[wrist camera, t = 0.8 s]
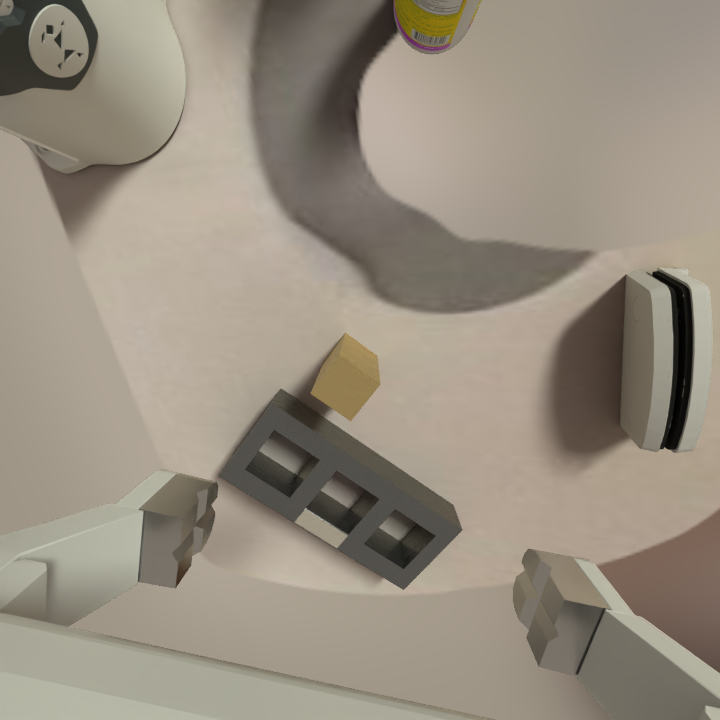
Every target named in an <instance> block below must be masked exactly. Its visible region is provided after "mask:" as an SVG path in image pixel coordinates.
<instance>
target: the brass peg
mask: <svg viewBox="0 0 720 720" xmlns="http://www.w3.org/2000/svg"><path fill="white" fill-rule="evenodd" d="M379 385H380V376H379V368H378V360H377V355H375V354H374V353H373V352H371V351H370V350H369V349H367V348H366V347H364V346H363V345H362V344H360V343H359V342H357V341H356V340H355V339H353V338H352V337H351V336H349V335H348V334H346V333H345V335H344V336H343V337H342V339H341V340H340V341H339V343H338V344H337V345H336V347H335V348H334V349H333V351H332V352H331V353H330V355H329V356H328V357H327V359H326V360H325V362H324V363H323V365H322V367H321V370H320V372H319V375H318V377H317V379H316V382H315V384H314V386H313V389H312V391H311V393H310V394H312V395H313V396H315V397H316V398H318V399H319V400H320V401H322V402H323V403H325V404H326V405H328V406H329V407H331V408H332V409H334V410H335V411H337V412H338V413H339V414H341V415H342V416H344V417H345V418H347V419H348V420H350V421H351V420H352V419H353V418H354V416H355V415H356V414H357V413H358V411H359V410H360V409H361V408H362V406H363V405H364V404H365V403H366V402H367V400H368V399H369V398H370V397H371V395H372V394H373V393H374V392H375V390H376V389H377V388H378V387H379Z"/></svg>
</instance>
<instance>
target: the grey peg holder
mask: <svg viewBox="0 0 720 720" xmlns="http://www.w3.org/2000/svg"><path fill="white" fill-rule="evenodd" d="M274 430H275V431H276V432H278V433H280V434H281V435H283V436H284V437H286V438H287V439H289V440H290V441H292V442H293V443H295V444H296V445H298V446H299V447H301V448H302V449H304V450H306V451H307V452H309V453H310V454H312V455H313V456H312V457H311V459H310V460H309V461H308V463H307V464H306V465H305V466H304V468H303V469H302V470H301V471H300V473H299V474H298V475H295V474H294V473H292V472H291V471H289V470H288V469H286V468H284V467H283V466H281V465H280V464H278V463H277V462H275V461H273V460H272V459H270V458H269V457H267V456H266V455H264V454H262V453H261V452H259V450H260V448H261V447H262V446H263V444H264V443H265V442H266V440H267V439H268V438H269V436H270V435H271V433H272V432H273V431H274ZM336 471H338V472H339V473H341V474H342V475H344V476H345V477H347V478H348V479H350V480H351V481H353V482H354V483H356V484H357V485H359V486H360V487H362V488H364V489H365V490H367V491H366V492H365V493H364V494H363V495H362V496H361V497H360V499H359V500H358V501H357V502H356V503H355V504H354V506H353V507H352V508H351V509H348V508H347V507H345V506H344V505H342V504H341V503H339V502H338V501H336V500H334V499H333V498H331V497H330V496H328V495H327V494H325V493H323V492H322V491H320V490H321V489H322V488H323V486H324V485H325V484H326V483H327V482H328V480H329V479H330V478H331V477H332V475H333V474H334V473H335V472H336ZM219 477H221V478H223V479H224V480H226V481H228V482H229V483H231V484H232V485H234V486H236V487H237V488H239V489H241V490H242V491H244V492H245V493H247V494H249V495H250V496H252V497H254V498H255V499H257V500H258V501H260V502H262V503H263V504H265V505H267V506H268V507H270V508H271V509H273V510H275V511H276V512H278V513H280V514H281V515H283V516H284V517H286V518H288V519H289V520H291V521H292V522H294V523H296V524H297V525H299V526H301V527H302V528H304V529H305V530H307V531H309V532H310V533H312V534H314V535H315V536H317V537H318V538H320V539H322V540H323V541H325V542H327V543H328V544H330V545H331V546H333V547H335V548H336V549H338V550H340V551H341V552H343V553H344V554H346V555H348V556H349V557H351V558H353V559H354V560H356V561H357V562H359V563H361V564H362V565H364V566H366V567H367V568H369V569H370V570H372V571H374V572H375V573H377V574H379V575H380V576H382V577H383V578H385V579H387V580H388V581H390V582H391V583H393V584H395V585H396V586H398V587H400V588H401V589H403V590H404V589H405V588H406V587H407V586H408V585H409V584H410V583H411V582H412V581H413V580H414V579H415V578H416V577H417V576H418V575H419V574H420V573H421V572H422V571H423V570H424V569H425V568H426V567H427V566H428V565H429V564H430V563H431V562H432V561H433V560H434V559H435V558H436V557H437V555H438V554H439V553H440V552H441V551H442V550H443V549H444V548H445V547H446V546H447V545H448V544H449V543H450V542H451V541H452V540H453V539H454V538H455V537H456V536H457V535H458V534H459V533H460V532H461V531H462V527H461V525H460V522H459V519H458V516H457V514H456V511H455V508H454V505H452V504H451V503H449V502H448V501H446V500H445V499H443V498H442V497H441V496H439V495H438V494H436V493H435V492H433V491H432V490H430V489H429V488H427V487H426V486H424V485H423V484H421V483H420V482H418V481H417V480H415V479H414V478H412V477H411V476H409V475H408V474H407V473H405V472H404V471H402V470H401V469H399V468H398V467H396V466H395V465H393V464H392V463H390V462H389V461H387V460H386V459H384V458H383V457H381V456H380V455H378V454H377V453H376V452H374V451H373V450H371V449H370V448H368V447H367V446H365V445H364V444H362V443H361V442H359V441H358V440H356V439H355V438H353V437H352V436H350V435H349V434H347V433H346V432H344V431H343V430H342V429H340V428H339V427H337V426H336V425H334V424H333V423H331V422H330V421H328V420H327V419H325V418H324V417H322V416H321V415H319V414H318V413H316V412H315V411H313V410H312V409H310V408H309V407H308V406H306V405H305V404H303V403H302V402H300V401H299V400H297V399H296V398H294V397H293V396H291V395H290V394H288V393H287V392H285V391H284V390H282V389H280V391H279V392H278V394H277V395H276V396H275V398H274V399H273V401H272V402H271V403H270V405H269V406H268V407H267V409H266V410H265V412H264V413H263V414H262V416H261V417H260V419H259V420H258V421H257V423H256V424H255V425H254V427H253V428H252V430H251V431H250V432H249V434H248V435H247V437H246V438H245V439H244V441H243V442H242V444H241V445H240V446H239V448H238V449H237V450H236V452H235V453H234V455H233V456H232V457H231V459H230V460H229V462H228V463H227V465H226V466H225V468H224V469H223V470H222V472H221V473H220V475H219ZM395 509H396V510H397V511H399V512H400V513H402V514H403V515H405V516H406V517H408V518H409V519H411V520H412V521H414V522H415V523H417V525H416V526H415V527H414V528H413V529H412V530H411V531H410V532H409V533H408V534H407V535H406V536H405V537H404V538H403V539H402V541H401V542H400V541H398V540H397V539H395V538H394V537H392V536H391V535H389V534H388V533H386V532H384V531H383V530H381V529H380V528H378V527H379V526H380V525H381V524H382V523H383V522H384V521H385V520H386V519H387V517H388V516H389V515H390V514H391V513H392V512H393V511H394V510H395Z"/></svg>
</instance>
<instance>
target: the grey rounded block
mask: <svg viewBox="0 0 720 720" xmlns="http://www.w3.org/2000/svg"><path fill="white" fill-rule="evenodd" d="M711 366H712V310H711V298H710V291H709V288H708V286H707V285H706V284H704V283H702V282H700V281H698V280H696V279H694V278H692V277H690V276H688V269H686V268H657V271H656V272H653V276H652V275H650V274H648V273H645V272H643V271H642V270H638V271H634V272H631V273H628V274H626V289H625V314H624V339H623V364H622V388H621V413H620V427H621V428H622V429H623V430H624V431H625V432H626V434H627V435H628V436H629V437H630V438H631V439H632V440H633V441H634V442H635V444H636V445H637V446H638V447H639V448H640V449H644V450H649V451H654V452H658V451H659V449H663V448H664V447H665V448H666V449H669V450H671V451H672V452H674V453H678V452H687V451H692V450H694V448H695V445H696V443H697V440H698V437H699V434H700V431H701V428H702V424H703V420H704V416H705V411H706V406H707V401H708V395H709V388H710V378H711Z"/></svg>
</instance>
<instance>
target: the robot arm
mask: <svg viewBox="0 0 720 720" xmlns="http://www.w3.org/2000/svg"><path fill="white" fill-rule="evenodd" d="M185 92H186V73H185V65H184V59H183V54H182V50H181V47H180V44H179V41H178V38H177V36H176V33H175V31H174V28H173V26H172V24H171V21H170V18H169V16H168V12H167V9H166V0H0V129H1V130H3V131H6V132H8V133H10V134H13V135H15V136H17V137H20V138H21V139H22V140H23V141H24V142H25V143H26V144H27V145H28V146H29V147H30V148H31V149H32V150H33V151H34V152H35V153H36V154H37V155H38V156H39V157H40V158H41V159H42V160H43V161H44V162H45V163H46V164H47V165H48V166H50V167H51V168H53V169H55V170H57V171H59V172H62V173H66V174H68V173H74V172H76V171H79V170H81V169H84V168H86V167H88V166H90V165H93V164H108V165H122V164H129V163H133V162H137V161H140V160H142V159H144V158H146V157H148V156H150V155H151V154H153V153H154V152H156V151H157V150H158V149H159V148H160V147H162V145H163V144H164V143H165V142H166V141H167V140H168V139H169V137H170V136H171V134H172V133H173V131H174V129H175V128H176V126H177V123H178V121H179V119H180V116H181V113H182V110H183V105H184V100H185ZM217 494H218V484H217V482H215V481H211V480H206V479H202V478H198V477H194V476H189V475H185V474H181V473H180V474H179V473H177V472H172V471H167V470H162V469H161V470H157V471H155V472H154V473H153V474H151V475H150V476H149V477H148V478H146V479H145V480H144V481H143V482H142V483H141V484H139V485H138V486H137V487H135V488H134V489H133V490H132V491H130V492H129V493H128V494H127V495H126V496H124V497H123V498H122V499H121V500H120V501H118V502H117V503H116V504H115V505H114V504H109V503H108V504H104V505H101V506H98V507H95V508H92V509H88V510H85V511H81V512H78V513H75V514H72V515H69V516H65V517H62V518H59V519H56V520H52V521H49V522H46V523H43V524H39V525H36V526H33V527H29V528H26V529H23V530H19V531H16V532H13V533H10V534H7V535H4V536H0V720H494V719H490V718H485V717H480V716H476V715H471V714H467V713H462V712H458V711H453V710H449V709H444V708H439V707H435V706H430V705H426V704H421V703H416V702H412V701H407V700H403V699H398V698H393V697H388V696H384V695H379V694H374V693H370V692H366V691H360V690H356V689H352V688H347V687H343V686H338V685H333V684H328V683H324V682H319V681H314V680H310V679H306V678H301V677H296V676H291V675H287V674H282V673H278V672H273V671H268V670H264V669H259V668H255V667H250V666H245V665H241V664H236V663H232V662H226V661H222V660H218V659H213V658H208V657H204V656H199V655H195V654H190V653H186V652H181V651H176V650H172V649H167V648H163V647H158V646H153V645H149V644H144V643H140V642H134V641H130V640H126V639H121V638H116V637H112V636H107V635H103V634H98V633H93V632H89V631H84V630H80V629H75V628H70V627H69V626H70V625H72V624H73V623H75V622H76V621H78V620H80V619H81V618H83V617H85V616H86V615H88V614H90V613H91V612H93V611H94V610H96V609H98V608H99V607H101V606H103V605H104V604H106V603H107V602H109V601H111V600H112V599H114V598H115V597H117V596H119V595H120V594H122V593H123V592H125V591H127V590H128V589H130V588H131V587H133V586H135V585H136V584H137V583H138V582H143V583H149V584H154V585H159V586H165V587H170V588H176V587H177V585H178V584H179V582H180V581H181V579H182V578H183V576H184V575H185V573H186V572H187V571H188V569H189V567H190V566H191V561H192V556H193V555H195V554H196V553H198V552H200V551H201V550H202V548H203V547H204V545H205V544H206V542H207V540H208V537H209V535H210V533H211V530H212V527H213V523H214V518H215V511H214V509H213V507H212V506H211V505H212V503H213V502H214V501H215V499H216V498H217ZM522 564H523V566H524V569H525V571H523V572H522V573H521V574H519V575H518V576H516V580H515V583H514V587H513V603H514V608H515V611H516V614H517V616H518V619H519V620H520V621H521V622H522V623H523V624H524V625H525V626H526V627H527V628H528V629H529V632H528V634H527V640H528V642H529V645H530V647H531V649H532V652H533V654H534V656H535V659H536V661H537V663H538V666H539V667H542V668H546V669H550V670H554V671H558V672H562V673H567V674H570V675H575V676H577V679H578V680H579V681H580V683H581V684H582V685H583V686H584V687H585V688H586V690H587V691H588V692H589V693H590V694H591V695H592V697H593V698H594V699H595V700H596V701H597V702H598V704H599V705H600V706H601V707H602V708H603V709H604V711H605V712H606V713H607V714H608V715H609V716H610V718H611V719H612V720H720V673H718V672H717V671H715V670H714V669H713V668H711V667H710V666H708V665H707V664H706V663H704V662H703V661H702V660H700V659H699V658H698V657H696V656H695V655H693V654H692V653H691V652H689V651H688V650H687V649H685V648H684V647H682V646H681V645H680V644H678V643H677V642H676V641H674V640H672V639H671V638H670V637H668V636H667V635H666V634H664V633H663V632H662V631H660V630H659V629H657V628H656V627H655V626H653V625H652V624H651V623H649V622H648V621H647V620H645V619H644V618H642V617H639V616H635V615H634V614H633V612H632V611H631V610H630V608H629V607H628V606H627V605H626V603H625V602H624V601H623V599H622V598H621V597H620V596H619V594H618V593H617V592H616V591H615V589H614V588H613V587H612V585H611V584H610V583H609V582H608V580H607V579H606V578H605V577H604V575H603V574H602V573H601V572H600V570H599V569H598V568H597V566H596V565H595V564H594V563H593V562H591V561H590V560H588V559H583V558H578V557H572V556H564V555H559V554H554V553H549V552H544V551H539V550H533V549H528V550H527V551H526V552H525V554H524V556H523V559H522Z"/></svg>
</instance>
